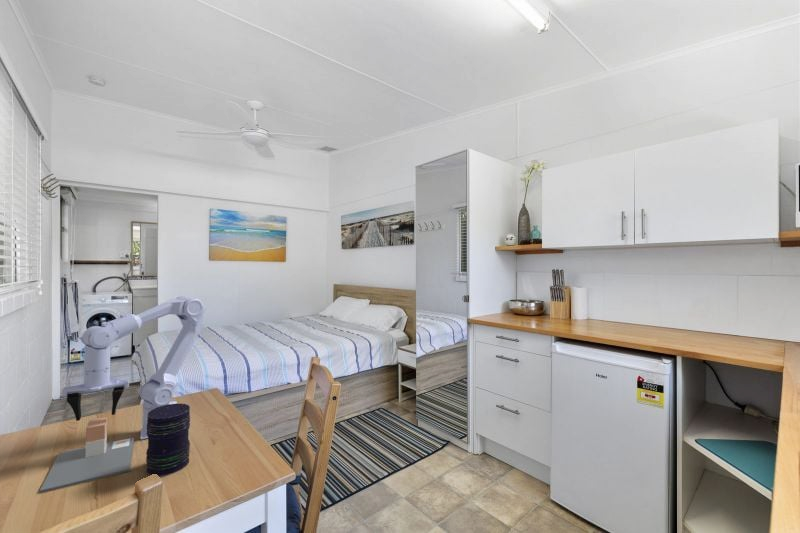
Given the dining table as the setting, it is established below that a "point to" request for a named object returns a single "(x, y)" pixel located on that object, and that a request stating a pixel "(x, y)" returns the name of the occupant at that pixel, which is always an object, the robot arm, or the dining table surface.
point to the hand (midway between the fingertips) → (96, 416)
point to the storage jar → (168, 439)
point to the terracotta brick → (96, 429)
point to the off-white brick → (96, 447)
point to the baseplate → (89, 465)
